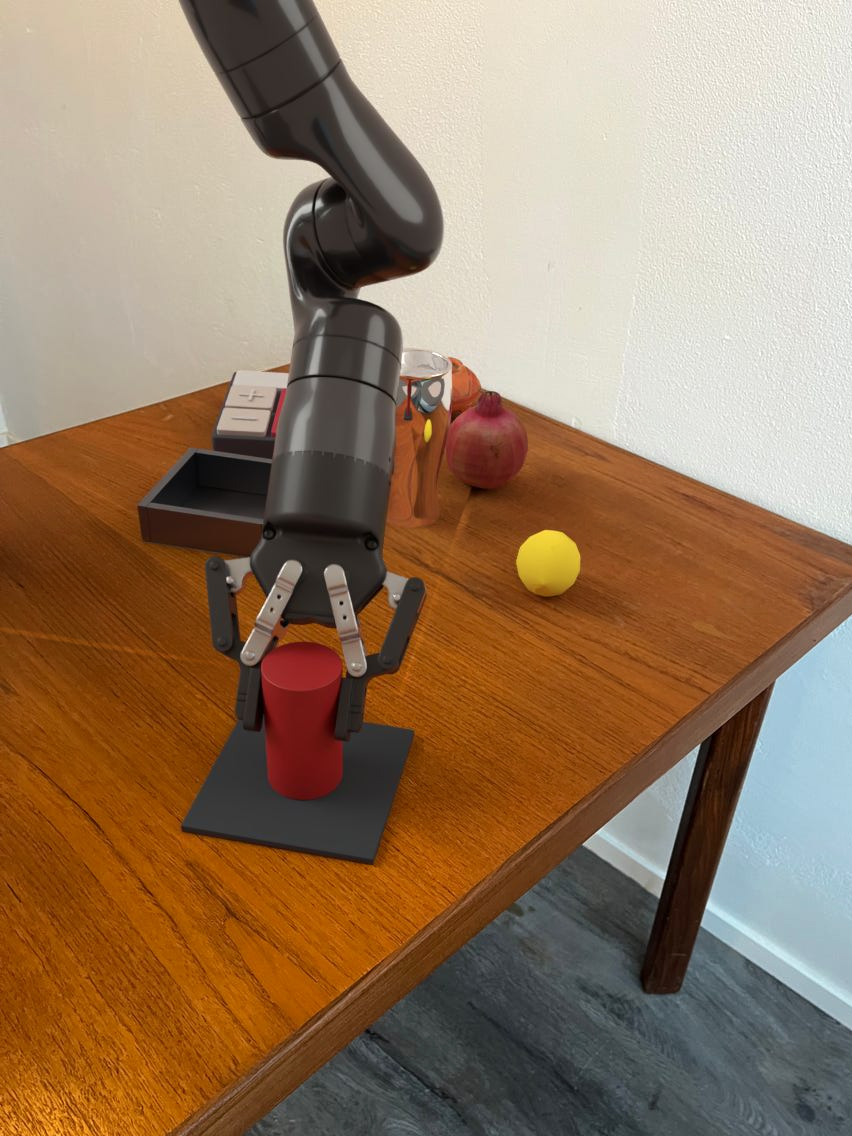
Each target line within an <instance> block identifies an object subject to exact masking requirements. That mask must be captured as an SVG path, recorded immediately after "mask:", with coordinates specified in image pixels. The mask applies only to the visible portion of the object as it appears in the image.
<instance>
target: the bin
mask: <svg viewBox="0 0 852 1136" xmlns="http://www.w3.org/2000/svg"><path fill="white" fill-rule="evenodd" d="M271 465H272V459H267V458H260V457H253V456H246V455H239V454H232V453H225V452H218V451H213V449H204V448H197V447H189V448H188V449H187V450H186V452H184V453H183V455H182V456H181V457H180V458H179V459H178V460H177V461H176V462H175V463H174V465H172V466H171V468H169V470H168V471H167V472H166V473H165V474H164V475H163V477H161V479H160V480H159V481H158V482H157V483H156V484H155V485H154V486H153V488H151V489H150V491H149V492H148V493H147V494H146V495H145V496H144V497H143V498H142V499H141V500H140V501H139V502H138V504H137V505H136V506H137V514H138V522H139V529H140V534H141V541H142V542H143V543H148V544H149V543H150V544H156V545H161V546H162V545H163V546H169V547H174V548H175V547H176V548H182V549H188V550H196V551H201V552H209V553H215V554H221V555H228V556H235V557H240V558H247V557H250V556H251V554H252V552H253V551H254V549H255V548H256V547H257V545H258V544H259V542H260V539H261V536H262V529H263V522H264V515H265V507H266V500H267V493H268V486H269V479H270V472H271Z"/></svg>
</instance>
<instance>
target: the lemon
mask: <svg viewBox="0 0 852 1136" xmlns="http://www.w3.org/2000/svg"><path fill="white" fill-rule="evenodd" d="M515 564H516V570H517V574H518V577H519V579H520V580H521V582H522V584H523V585H524V587H525V588H526V590H528V591H530V592H531V593H533V594H534V595H537V596H540V597H555V596H561V595H562V594H564V593H565V592H566V591H568V590H569V589H570V588H571V587H572V586H573V585H574V584H575V582H576V580H577V578H578V576H579V574H580V572H581V554H580V551H579V549H578V546H577V543H576V542H575V541H573V539H571V538H570V537H569V536H568V535H566V533H564V532H563V531H558V530H554V529H553V530H552V529H551V530H550V529H544V530H542V531H540V532H539V531H538V532H537V533H535V534H533V535H531V536H529V537H528V538H526V540H525V541H524V542H523V543H522V544H521V545H520V547H519V550H518V553H517V557H516V560H515Z"/></svg>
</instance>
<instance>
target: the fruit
mask: <svg viewBox="0 0 852 1136" xmlns="http://www.w3.org/2000/svg"><path fill="white" fill-rule="evenodd" d="M528 452H529V438H528V434H527V430H526V428H525V426H524V423H523V422H522V420H521V418H520V417H519V416H518V415H517V414H515V412H513V411H511V410H510V409H508V408H505V407H504V405H503V400H502V396H501V394H500V393H499V392H497V391H494V390H489V391H484V392H482V394H481V395H479V398H478V399H477V402H476V405H475V406H472V408H470V409H468V410H466V411H465V412H463V413H460V414H459V415H458V416H457V417H456V418H455V419H454V420H453V422H451V423H450V428H449V433H448V439H447V443H446V447H445V454H446V455H445V456H446V462H447V464H448V467H449V470H450V472H451V473H452V474H453V475H454V476H455V477H456V478H457V479H458V480H460V481H461V482H462V483H464V484H466V485H469V486H472V487H474V488H479V489H488V490H489V489H497V488H501V487H502V486H503V485H505V484H506V483H508V482H509V481H510V480H512V479H514V478H515V477H517V475H518V474H519V472H521V470H522V468H523V466H524V464H525V462H526V458H527V455H528Z"/></svg>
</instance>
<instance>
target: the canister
mask: <svg viewBox="0 0 852 1136" xmlns="http://www.w3.org/2000/svg"><path fill="white" fill-rule="evenodd" d="M261 676H262V692H263V707H264V723H265V739H266V754H267V770H268V780H269V783H270V785H271V786H272V788H273V789H274V790H275V791H276V792H278V793H279V794H281V795H283V796H285V797H287V798H291V799H296V800H311V799H316V798H320V797H322V796H325V795H327V794H328V793H330V792H332V791H333V790H334V789H335V788H336V787H337V786H338V784H339V783H340V781H341V779H342V775H343V741H338V740H335V727H336V719H337V711H338V703H339V695H340V687H341V679H342V677H343V661H342V658H341V657H340V655H339V654H338V653H337V652H336V651H335V650H334V649H333V648H331V647H330V646H327V645H325V644H321V643H318V642H314V641H293V642H288V643H285V644H281V645H278V646H277V648H275V649H273V650H272V651H270V652H269V653H268V654H267V655H266V656H265V658H264V659H263V661H262V664H261Z"/></svg>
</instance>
